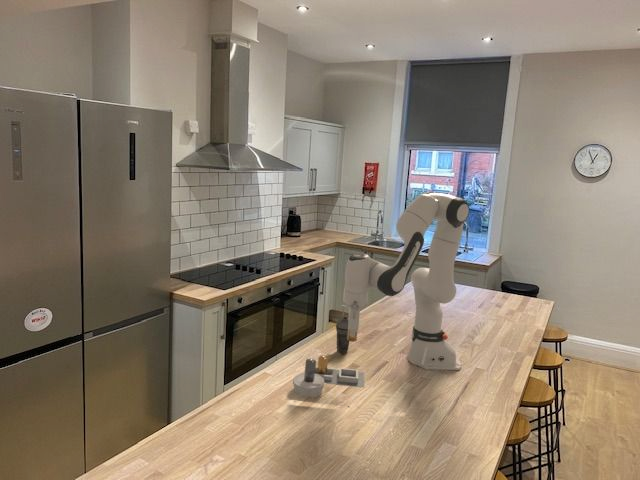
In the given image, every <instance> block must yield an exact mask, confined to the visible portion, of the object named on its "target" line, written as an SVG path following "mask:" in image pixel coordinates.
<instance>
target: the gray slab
mask: <svg viewBox="0 0 640 480" xmlns="http://www.w3.org/2000/svg"><path fill="white" fill-rule="evenodd" d="M317 371H318V365H316V368H315V374H317ZM317 375H319V376H321V377H322V378H323V379H324V384H329V385H337V386H347V387H354V388H355V387H356V388H358V387H359V388H365V372H362V371H359V369H356V368H355V369H354V368H353V369H352V368H344V367H339V369H335V368H333V367H327V375H322V374H317Z"/></svg>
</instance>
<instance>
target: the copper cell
mask: <svg viewBox="0 0 640 480" xmlns="http://www.w3.org/2000/svg"><path fill="white" fill-rule="evenodd" d="M357 338H358V331H355V336H354V337H350V330H348V333H347V340H348V341H349V342H357V340H358V339H357Z"/></svg>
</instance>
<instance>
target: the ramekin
mask: <svg viewBox="0 0 640 480" xmlns="http://www.w3.org/2000/svg"><path fill="white" fill-rule="evenodd" d="M304 374H305V372H301V373H299V374H296V375H295V376H294V377H293V379H292V385H293V391H294V394H296V395H298V396H299V397H303V398H317V397H319V396H320V395H321V394H322V393H323V389H324V386H325V383H324V379H323V378H322V377H321V376H319V375H317V374H315V377H314V381H313V382H306V381H305V380H304Z"/></svg>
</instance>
